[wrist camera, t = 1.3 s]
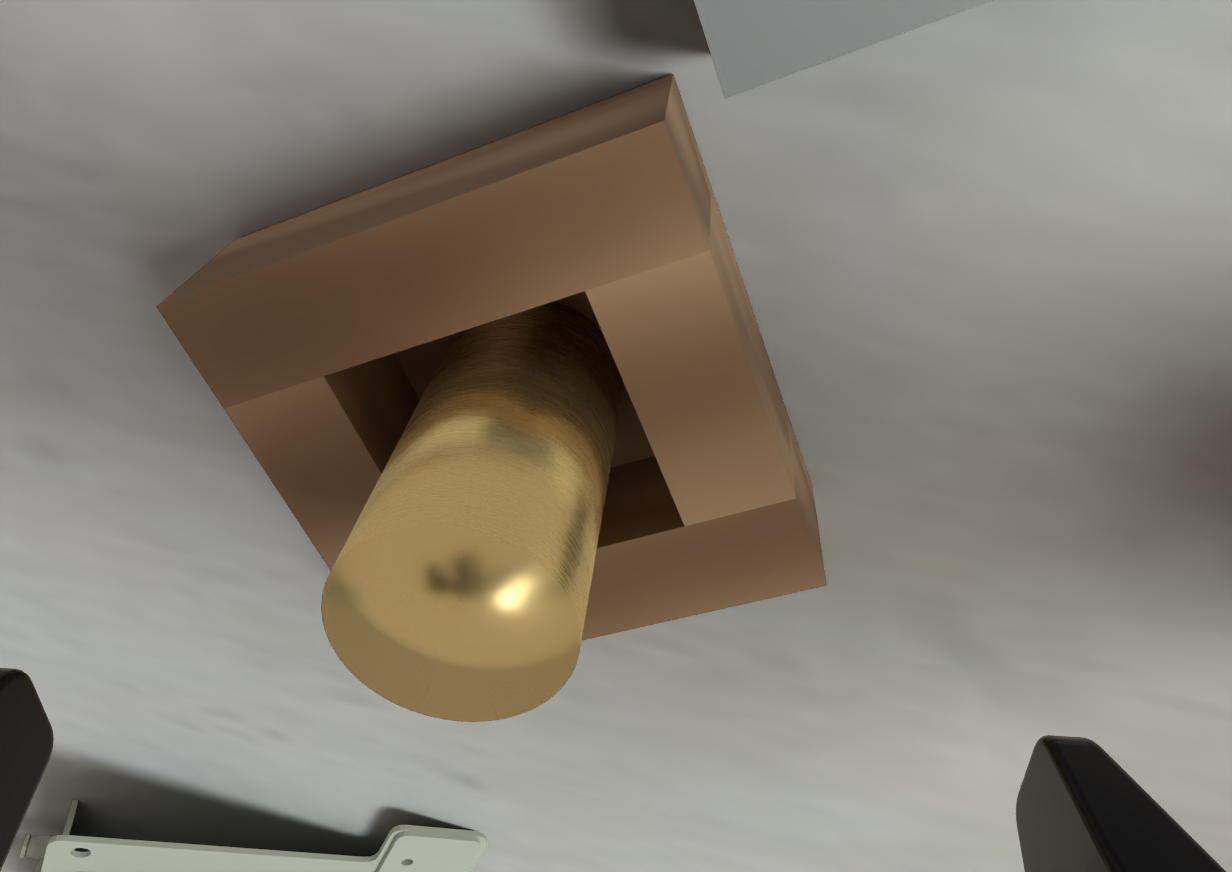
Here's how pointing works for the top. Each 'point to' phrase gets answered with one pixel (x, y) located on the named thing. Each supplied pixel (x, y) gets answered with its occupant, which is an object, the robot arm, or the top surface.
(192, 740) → the top surface
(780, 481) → the walnut socket block
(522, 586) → the brass pin
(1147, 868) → the robot arm
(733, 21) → the grey tray
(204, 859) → the metal bracket
